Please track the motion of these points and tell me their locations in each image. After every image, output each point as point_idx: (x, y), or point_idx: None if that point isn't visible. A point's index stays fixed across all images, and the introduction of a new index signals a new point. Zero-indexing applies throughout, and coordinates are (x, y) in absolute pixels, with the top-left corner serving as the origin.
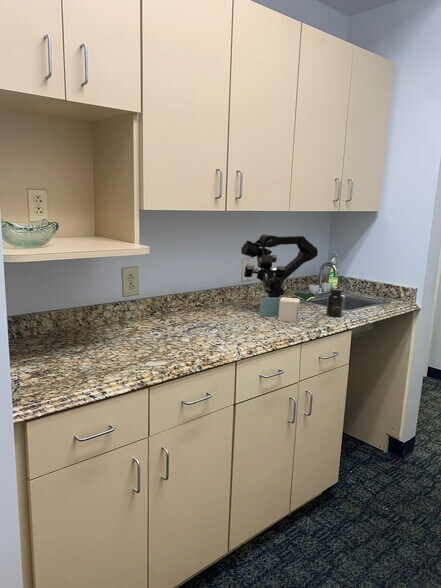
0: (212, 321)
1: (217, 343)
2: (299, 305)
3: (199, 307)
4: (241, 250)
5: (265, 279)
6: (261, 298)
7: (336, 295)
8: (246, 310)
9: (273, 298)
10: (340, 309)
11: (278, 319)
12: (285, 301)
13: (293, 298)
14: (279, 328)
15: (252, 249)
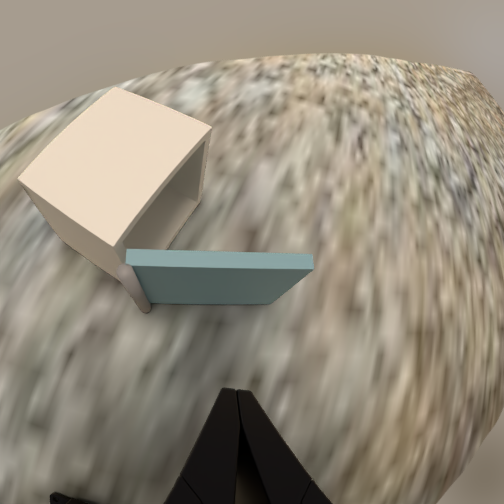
0: (451, 240)
1: (409, 89)
2: (35, 204)
3: (466, 466)
4: None
5: (275, 478)
6: (310, 255)
7: None
8: (301, 457)
9: (196, 251)
10: None
11: (200, 197)
12: (177, 112)
13: (50, 189)
14: (252, 108)
15: None
